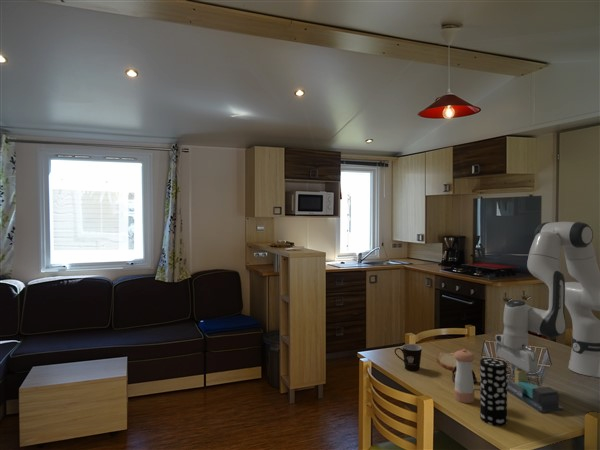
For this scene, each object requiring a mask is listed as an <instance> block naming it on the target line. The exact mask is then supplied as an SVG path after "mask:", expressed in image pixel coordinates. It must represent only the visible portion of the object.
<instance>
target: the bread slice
mask: <svg viewBox="0 0 600 450" xmlns="http://www.w3.org/2000/svg"><path fill="white" fill-rule="evenodd" d="M455 353H456V352H455V351H454V352H443V351H439V352H438V354H437V356H436V363H438V365H439V366H440V367H442V368H443V369H444V370H448V371H450V372H452V370H453V368H454V367H455V366H457V360H456V359H455V357H454V355H455ZM454 373H456V371H455V372H454Z"/></svg>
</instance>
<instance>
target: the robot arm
mask: <svg viewBox="0 0 600 450" xmlns="http://www.w3.org/2000/svg"><path fill="white" fill-rule="evenodd" d="M593 238H594V231H593V229H592V228H591V226H590V225H589V224H588V223H584V222H581V221H575V222H574V221H555V222H548V221H547V222H542V223H540V224H538V225H537V227H536V228H535V230H534V239H533V241H532V243H531V245H530V248H529V252H528V256H527V258H528V259H527V261H526V263H527V264H526V267H527V270H528V272H529V273H530V274H531V275H532V276H533V277H534V278H536V279H538V280H540V281H541V282H543V283H544V284H545V285H546V286H547V287H548V309H547V310H545V309H540V308H537V307H532V306H530V305H528V304H527V303H526V301H524V300H519V299H516V300H515V299H514V300H513V299H512V300H509V301H507V302H505V304H504V308H503V317H502V318H503V319H502V320H503V322H502V323H503V326H504V328H503V331H502V334H496V335H495V336H494V339H495V346H494V347H495V355H496V356H497V357H499V358H501V360H503V361H505V362H506V363H508V364H509V366H510V367H509V368H510V369H511V375H512V376H515V370H524V371H526V373H528V374H536V373H537V372H538V371H539V368H538V358H537V354H536V352H535V351H534V349H533V348H531V347H529V331H530V332H532V333H536V334H540V335H542V336H544V337H547V338H550V339H556V338H558V337H561V336H562V335H564V333H565V331H566V329H567V322H566V316H565V311H566V310H565V307H566V309H567V311H568V312H569V315H570V318H571V322H572V337H571V339H570V340H571V350H570V351H571V352H570V359H569V361H568V366H567V368H568V369H569V370H570V371H572V372H574V373H577V374H580V375H584V376H587V377H594V378H600V319H599V318H598V317H596V316H595V315H594V313H593V311H597V312H600V268H599V265H598V260H597V256H596V251H595V248H594V243H593ZM562 248H563V251H564V260H565V263H566V268H567V272H568V274H569V276H571V278H574V279H575V280H576V281H566V279H565V276H564V273H562V272H561V270H560V266H559V265H560V258H561V250H562ZM592 310H593V311H592Z"/></svg>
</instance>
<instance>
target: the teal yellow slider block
mask: <svg viewBox="0 0 600 450" xmlns="http://www.w3.org/2000/svg"><path fill="white" fill-rule="evenodd" d="M514 381H515V383H517V384H519V385H520V386H522V387H524V394H526V395H527V396H529V397H531V398H532V389H533V388H540V387H539V386H537V385H535V384H533V383H531V382H530V381H528V380H527V372H526V371H524V370H522V369H521V370H515V375H514Z"/></svg>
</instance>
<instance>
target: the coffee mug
mask: <svg viewBox="0 0 600 450" xmlns="http://www.w3.org/2000/svg"><path fill="white" fill-rule="evenodd" d="M422 349H423V348H422V346H421V345H418V344H415V343H414V344H413V343H407V344H403V345H402V347H401V348H400V347H396V348H395V349H394V354H395V356H396V357H397V358H398V359H399V360H401V361H402V362H403V363H404V369H405V370H406V371H410V372H418V371H420V367H421V359H422V351H423V350H422ZM397 350H400V351H401V352H402V355H403V358H402V357H401V356H400V355H398V353H397Z"/></svg>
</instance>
